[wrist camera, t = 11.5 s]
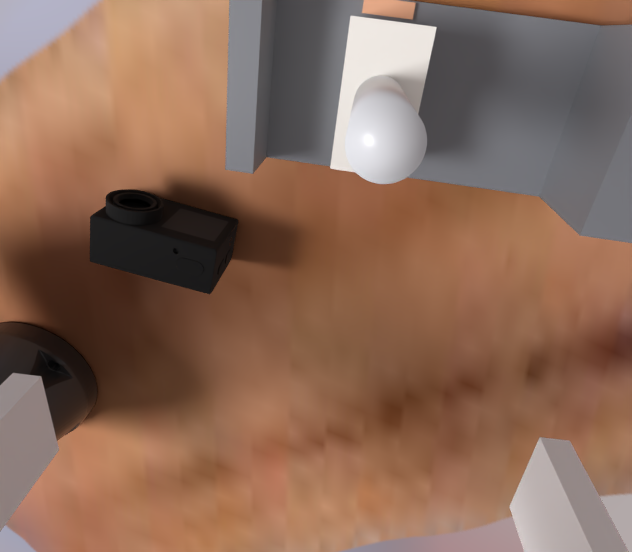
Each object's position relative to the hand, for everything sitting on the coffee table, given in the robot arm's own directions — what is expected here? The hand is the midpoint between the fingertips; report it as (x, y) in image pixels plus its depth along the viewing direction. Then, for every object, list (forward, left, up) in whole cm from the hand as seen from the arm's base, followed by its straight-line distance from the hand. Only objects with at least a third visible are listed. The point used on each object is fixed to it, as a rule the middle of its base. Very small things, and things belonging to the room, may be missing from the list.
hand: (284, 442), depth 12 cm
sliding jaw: (+2, +6, -28) cm, 29 cm away
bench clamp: (+6, +6, -30) cm, 31 cm away
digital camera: (-14, -7, -30) cm, 34 cm away
